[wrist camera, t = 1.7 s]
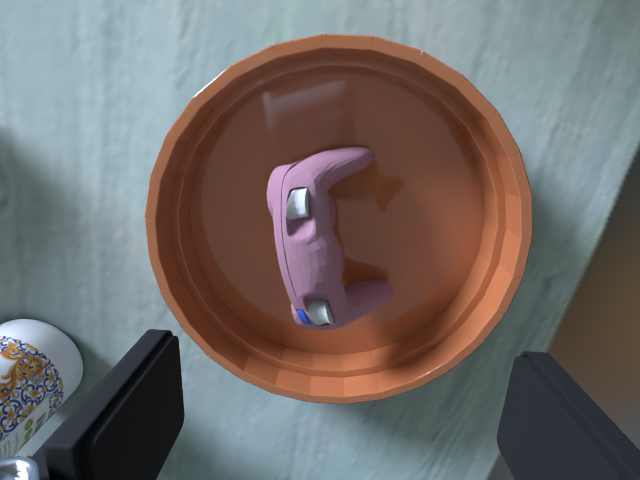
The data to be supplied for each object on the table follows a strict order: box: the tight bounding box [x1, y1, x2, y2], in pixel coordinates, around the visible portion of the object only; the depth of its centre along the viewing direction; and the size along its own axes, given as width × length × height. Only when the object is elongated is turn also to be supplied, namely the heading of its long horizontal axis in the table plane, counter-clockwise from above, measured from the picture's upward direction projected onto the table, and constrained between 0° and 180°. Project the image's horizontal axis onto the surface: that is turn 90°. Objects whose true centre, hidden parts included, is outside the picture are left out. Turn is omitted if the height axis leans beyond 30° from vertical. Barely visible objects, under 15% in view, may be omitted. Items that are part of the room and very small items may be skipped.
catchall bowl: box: [145, 34, 532, 404], centre depth 22 cm, size 20×20×4 cm
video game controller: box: [267, 147, 394, 331], centre depth 21 cm, size 10×5×7 cm, turn 11°
